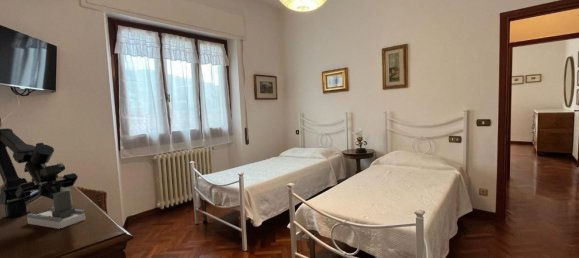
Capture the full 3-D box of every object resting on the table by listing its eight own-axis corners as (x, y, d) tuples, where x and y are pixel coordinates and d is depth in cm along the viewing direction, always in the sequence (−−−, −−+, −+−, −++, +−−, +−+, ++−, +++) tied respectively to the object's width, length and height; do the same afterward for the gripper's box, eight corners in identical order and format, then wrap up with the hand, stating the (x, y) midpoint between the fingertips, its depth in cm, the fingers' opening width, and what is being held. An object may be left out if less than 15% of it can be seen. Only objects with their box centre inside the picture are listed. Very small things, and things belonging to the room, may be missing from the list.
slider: (52, 216, 105) (49, 193, 105) (66, 212, 110) (64, 190, 109) (60, 218, 104) (58, 194, 103) (75, 213, 108) (72, 190, 108)
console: (27, 223, 108) (26, 213, 108) (54, 215, 117) (53, 206, 116) (59, 228, 101) (58, 218, 101) (85, 219, 109) (84, 209, 109)
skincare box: (73, 205, 129) (70, 179, 129) (64, 208, 125) (61, 182, 124) (61, 205, 130) (58, 180, 129) (52, 208, 126) (49, 182, 125)
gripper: (16, 162, 99) (37, 194, 96) (72, 154, 117) (92, 180, 113) (6, 183, 103) (27, 214, 99) (63, 172, 120) (82, 198, 117)
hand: (59, 200), depth 107 cm, fingers closed, pressing on slider
